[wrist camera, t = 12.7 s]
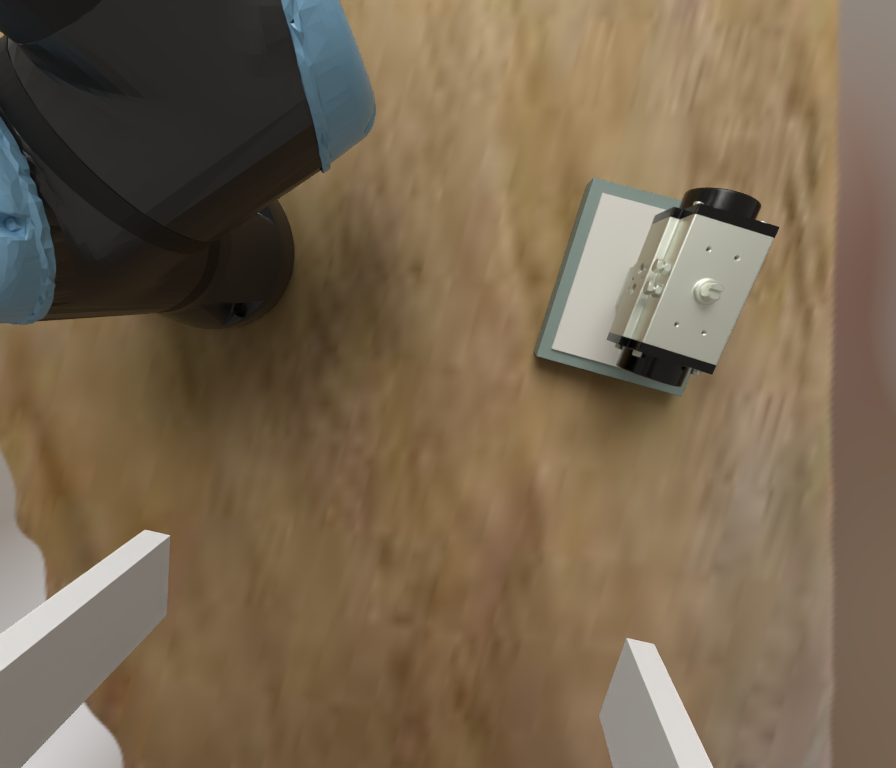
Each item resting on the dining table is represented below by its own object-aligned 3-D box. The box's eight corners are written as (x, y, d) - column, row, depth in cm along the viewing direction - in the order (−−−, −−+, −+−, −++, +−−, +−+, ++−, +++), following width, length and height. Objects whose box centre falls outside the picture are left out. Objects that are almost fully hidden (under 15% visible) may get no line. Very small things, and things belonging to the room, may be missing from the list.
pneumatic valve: (698, 229, 34) (807, 196, 23) (640, 367, 37) (711, 401, 25) (631, 209, 35) (705, 165, 23) (579, 347, 37) (621, 372, 25)
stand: (533, 352, 40) (537, 356, 38) (586, 185, 37) (594, 176, 34) (669, 390, 40) (682, 397, 37) (735, 224, 37) (755, 219, 34)
